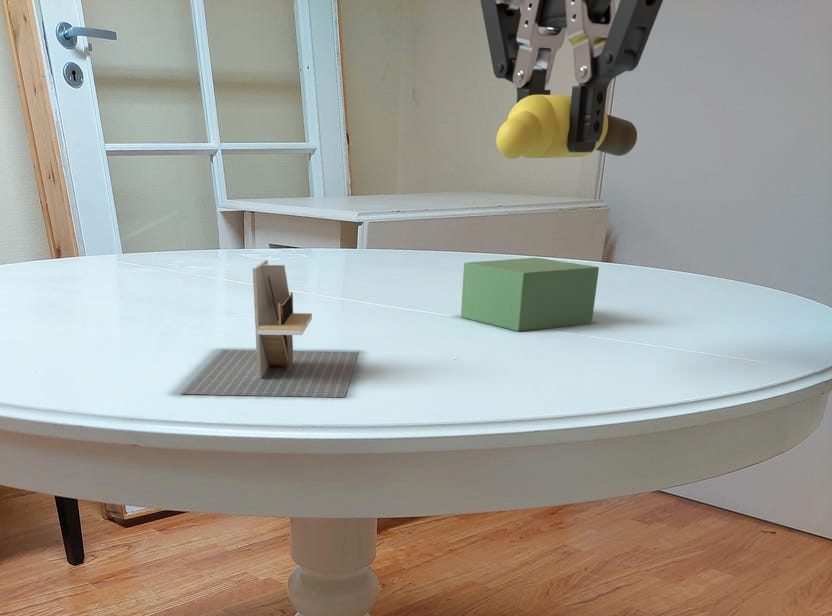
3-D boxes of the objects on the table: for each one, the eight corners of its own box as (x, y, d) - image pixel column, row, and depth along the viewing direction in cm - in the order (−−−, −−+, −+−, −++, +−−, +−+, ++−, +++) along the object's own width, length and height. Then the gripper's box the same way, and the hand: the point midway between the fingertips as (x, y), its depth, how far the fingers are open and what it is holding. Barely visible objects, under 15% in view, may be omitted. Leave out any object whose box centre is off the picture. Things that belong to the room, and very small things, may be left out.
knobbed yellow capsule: (588, 137, 65) (615, 86, 62) (625, 171, 64) (655, 121, 61) (460, 138, 57) (484, 80, 55) (500, 176, 56) (527, 119, 53)
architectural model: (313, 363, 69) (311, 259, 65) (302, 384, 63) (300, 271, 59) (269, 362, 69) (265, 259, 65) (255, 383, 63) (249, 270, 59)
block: (531, 309, 92) (536, 257, 89) (592, 323, 85) (599, 266, 82) (460, 317, 88) (463, 262, 85) (518, 331, 81) (523, 272, 78)
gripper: (732, -203, 49) (678, 151, 58) (532, -146, 59) (511, 151, 67) (655, -235, 45) (609, 153, 53) (453, -167, 54) (441, 153, 63)
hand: (555, 150), depth 60 cm, fingers closed on knobbed yellow capsule, 3 cm apart
